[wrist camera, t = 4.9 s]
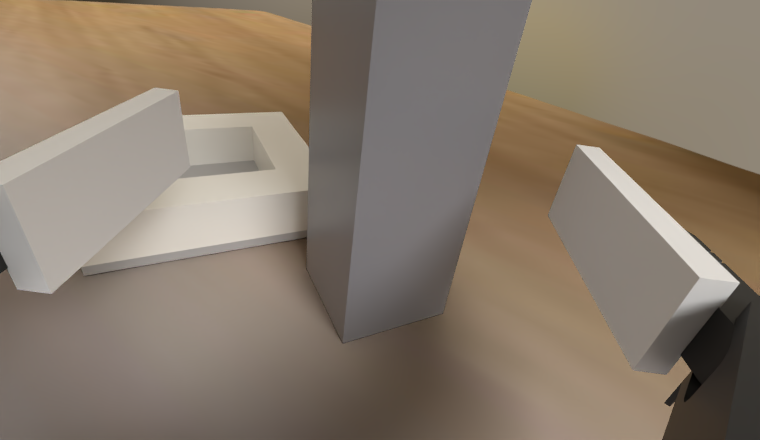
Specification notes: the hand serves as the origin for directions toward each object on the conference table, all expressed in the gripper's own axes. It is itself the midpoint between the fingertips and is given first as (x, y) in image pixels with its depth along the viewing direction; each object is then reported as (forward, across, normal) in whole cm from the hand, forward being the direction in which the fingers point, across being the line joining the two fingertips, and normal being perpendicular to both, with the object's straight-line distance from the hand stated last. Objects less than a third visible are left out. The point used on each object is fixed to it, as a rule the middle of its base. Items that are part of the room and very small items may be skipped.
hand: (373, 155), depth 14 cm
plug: (+2, +1, -8) cm, 8 cm away
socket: (+8, -10, -8) cm, 15 cm away
